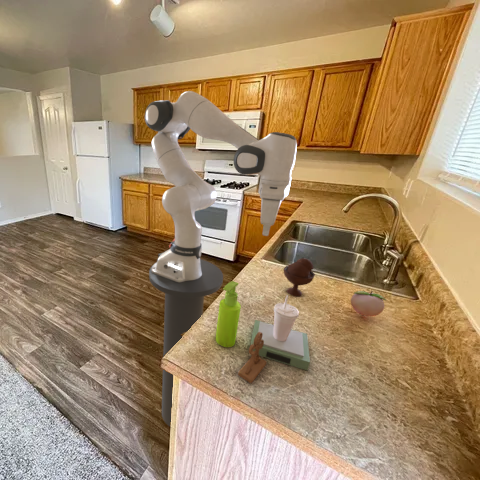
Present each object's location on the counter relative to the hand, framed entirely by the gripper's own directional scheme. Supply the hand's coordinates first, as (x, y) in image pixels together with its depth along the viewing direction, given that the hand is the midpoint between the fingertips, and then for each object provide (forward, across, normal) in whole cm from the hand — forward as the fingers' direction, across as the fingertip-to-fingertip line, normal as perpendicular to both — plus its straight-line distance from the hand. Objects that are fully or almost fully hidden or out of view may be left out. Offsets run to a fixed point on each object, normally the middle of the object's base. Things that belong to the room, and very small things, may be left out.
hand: (266, 230), depth 87 cm
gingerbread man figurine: (+29, +31, +3) cm, 43 cm away
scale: (+29, +19, +9) cm, 36 cm away
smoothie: (+26, +19, +9) cm, 33 cm away
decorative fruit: (+29, -10, +36) cm, 47 cm away
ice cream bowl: (+29, -16, +14) cm, 36 cm away
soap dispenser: (+29, +24, -6) cm, 38 cm away
